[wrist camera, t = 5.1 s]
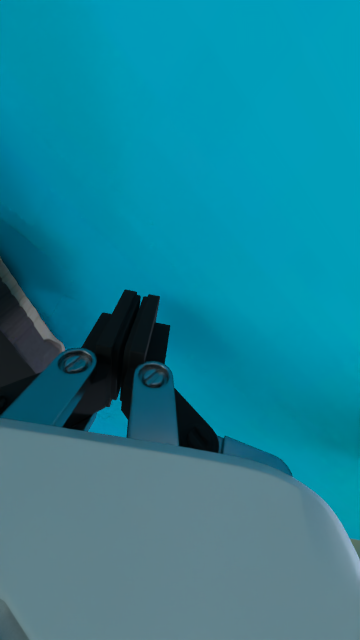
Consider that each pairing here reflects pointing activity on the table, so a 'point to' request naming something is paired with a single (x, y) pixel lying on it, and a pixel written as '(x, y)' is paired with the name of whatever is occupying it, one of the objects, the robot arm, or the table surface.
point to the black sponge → (22, 334)
